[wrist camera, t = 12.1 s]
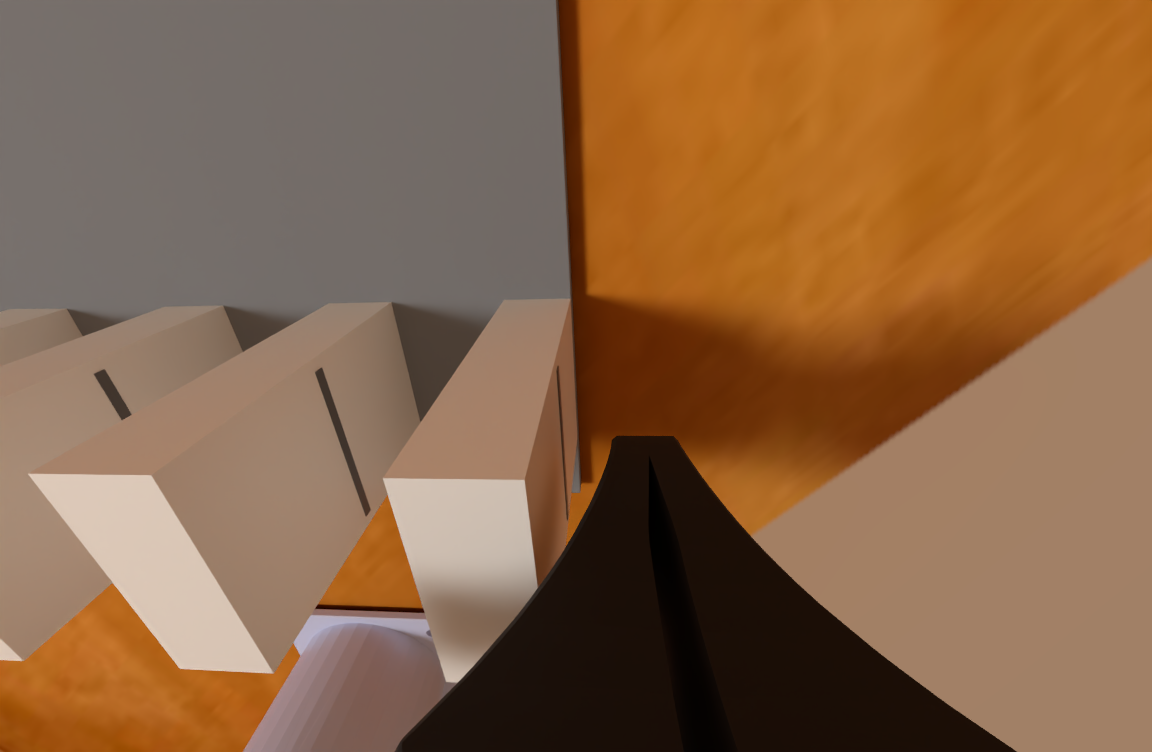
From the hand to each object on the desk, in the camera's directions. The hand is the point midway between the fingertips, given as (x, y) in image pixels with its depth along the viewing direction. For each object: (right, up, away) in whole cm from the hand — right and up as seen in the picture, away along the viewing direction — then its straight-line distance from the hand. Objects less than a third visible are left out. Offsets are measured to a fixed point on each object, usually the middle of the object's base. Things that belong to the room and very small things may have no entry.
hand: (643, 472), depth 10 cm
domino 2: (-8, +2, +5) cm, 10 cm away
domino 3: (-3, +2, +4) cm, 6 cm away
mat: (-15, +5, +4) cm, 16 cm away
